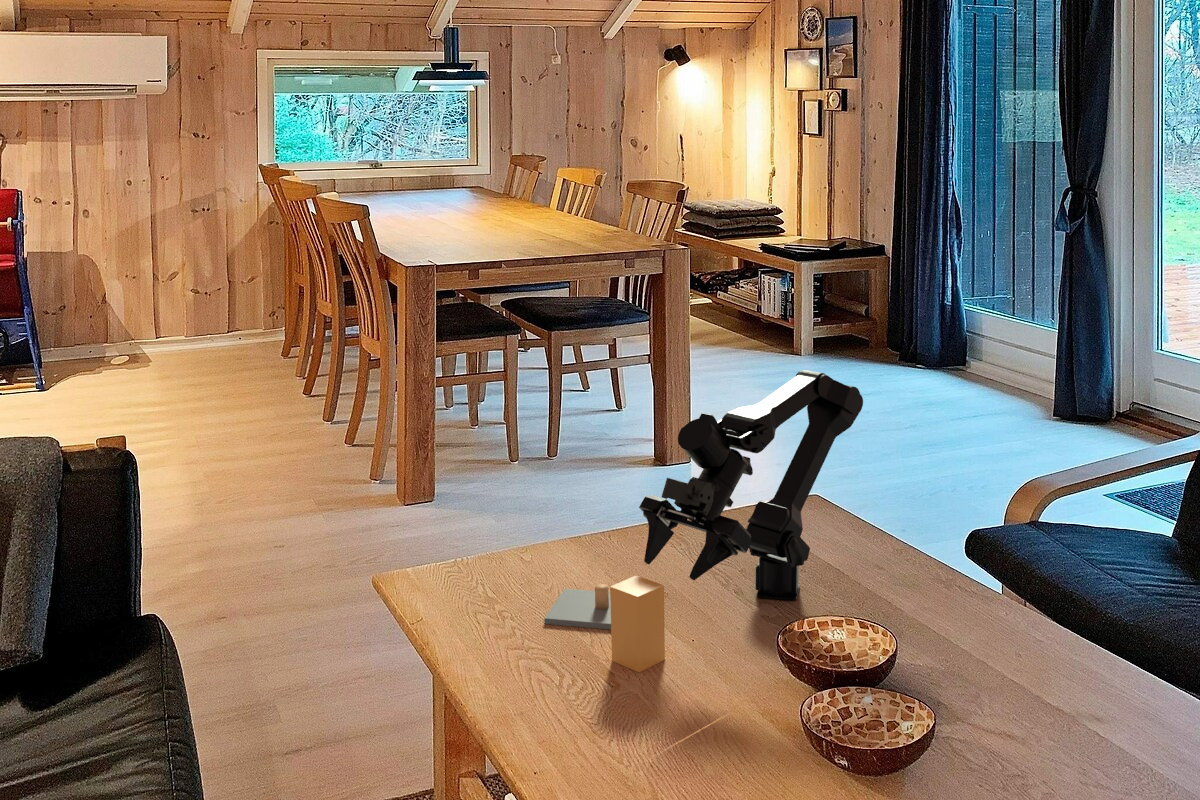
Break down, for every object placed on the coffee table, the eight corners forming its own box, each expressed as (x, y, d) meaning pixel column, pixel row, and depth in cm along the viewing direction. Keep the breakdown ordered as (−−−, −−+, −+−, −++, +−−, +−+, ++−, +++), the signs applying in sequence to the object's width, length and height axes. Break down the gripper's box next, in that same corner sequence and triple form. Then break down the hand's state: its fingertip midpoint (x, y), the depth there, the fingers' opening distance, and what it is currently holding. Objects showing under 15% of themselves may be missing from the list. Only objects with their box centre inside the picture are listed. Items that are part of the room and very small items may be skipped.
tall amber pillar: (637, 648, 197) (636, 575, 194) (664, 659, 193) (663, 585, 190) (611, 660, 193) (610, 586, 190) (639, 672, 190) (637, 596, 186)
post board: (657, 601, 214) (657, 576, 213) (642, 632, 203) (641, 605, 201) (564, 594, 218) (564, 569, 217) (544, 623, 207) (543, 597, 205)
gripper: (646, 445, 201) (597, 530, 196) (739, 469, 188) (689, 561, 183) (680, 481, 208) (634, 564, 203) (772, 507, 195) (725, 596, 190)
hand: (668, 570), depth 195 cm, fingers open, 9 cm apart
